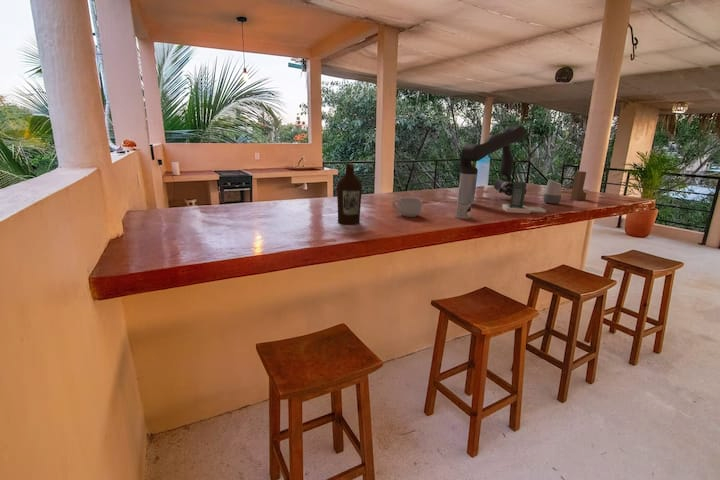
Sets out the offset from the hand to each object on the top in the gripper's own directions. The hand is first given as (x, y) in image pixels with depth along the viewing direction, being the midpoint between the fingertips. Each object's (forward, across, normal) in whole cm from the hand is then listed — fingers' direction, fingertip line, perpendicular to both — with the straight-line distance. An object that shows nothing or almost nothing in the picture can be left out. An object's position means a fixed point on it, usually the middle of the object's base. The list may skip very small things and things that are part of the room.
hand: (515, 192), depth 201 cm
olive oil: (+59, -81, +9) cm, 101 cm away
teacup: (+37, -57, +9) cm, 69 cm away
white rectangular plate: (+3, +11, +8) cm, 14 cm away
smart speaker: (-23, +27, +9) cm, 36 cm away
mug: (+32, -30, +9) cm, 45 cm away
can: (+7, 0, +9) cm, 11 cm away
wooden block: (-44, +50, +9) cm, 68 cm away
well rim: (+7, 0, +8) cm, 11 cm away
